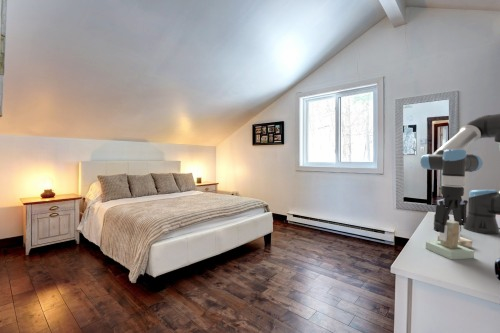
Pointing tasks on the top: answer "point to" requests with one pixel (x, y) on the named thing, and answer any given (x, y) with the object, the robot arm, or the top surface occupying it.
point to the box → (451, 235)
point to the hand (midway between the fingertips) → (449, 239)
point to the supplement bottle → (436, 226)
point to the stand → (463, 242)
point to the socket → (450, 251)
